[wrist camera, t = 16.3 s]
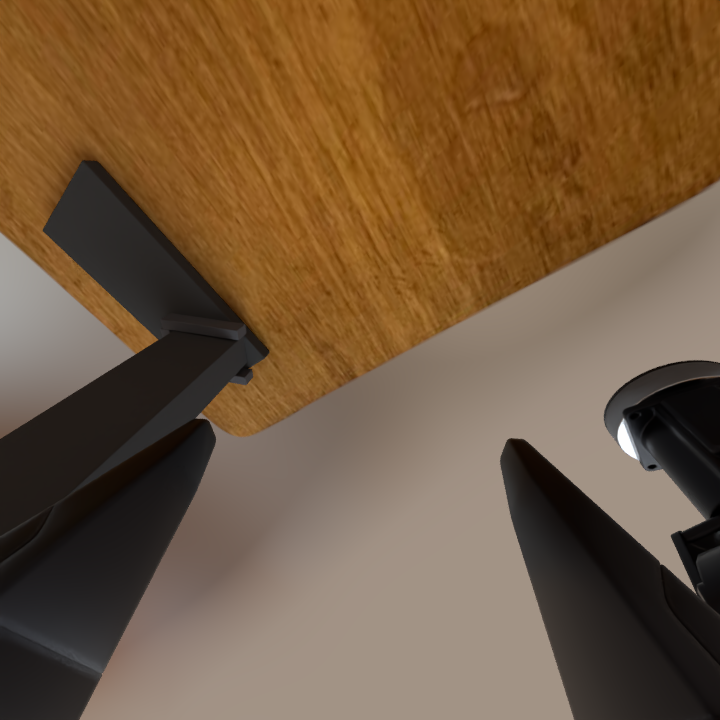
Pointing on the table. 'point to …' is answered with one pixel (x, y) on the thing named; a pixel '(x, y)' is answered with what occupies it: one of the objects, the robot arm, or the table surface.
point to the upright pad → (111, 420)
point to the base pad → (141, 264)
